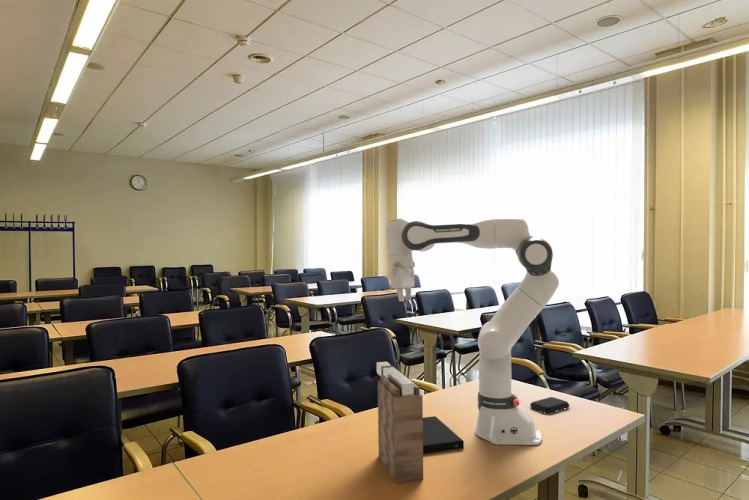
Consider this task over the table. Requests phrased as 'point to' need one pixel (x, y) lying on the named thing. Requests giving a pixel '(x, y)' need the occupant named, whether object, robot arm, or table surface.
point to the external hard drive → (439, 437)
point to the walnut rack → (400, 432)
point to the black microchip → (549, 405)
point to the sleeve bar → (396, 378)
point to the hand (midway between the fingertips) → (405, 300)
